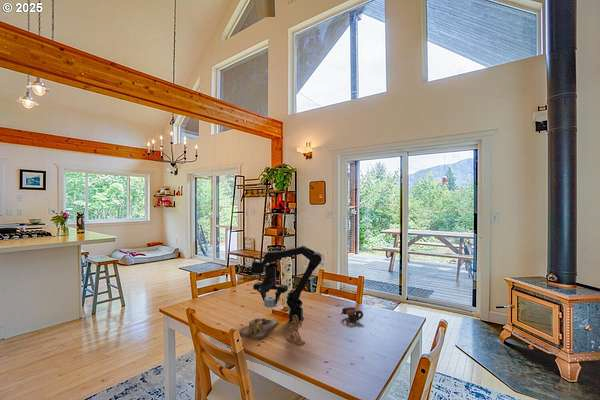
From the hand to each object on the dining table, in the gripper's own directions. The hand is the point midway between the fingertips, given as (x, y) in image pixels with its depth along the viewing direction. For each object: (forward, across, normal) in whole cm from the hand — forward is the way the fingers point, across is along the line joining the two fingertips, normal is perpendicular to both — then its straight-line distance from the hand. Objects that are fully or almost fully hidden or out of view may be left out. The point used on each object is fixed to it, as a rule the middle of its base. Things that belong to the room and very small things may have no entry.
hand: (270, 303), depth 156 cm
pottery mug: (+9, +42, +12) cm, 45 cm away
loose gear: (+1, 0, 0) cm, 1 cm away
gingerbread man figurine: (+9, +22, -19) cm, 30 cm away
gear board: (+8, +1, -14) cm, 16 cm away
